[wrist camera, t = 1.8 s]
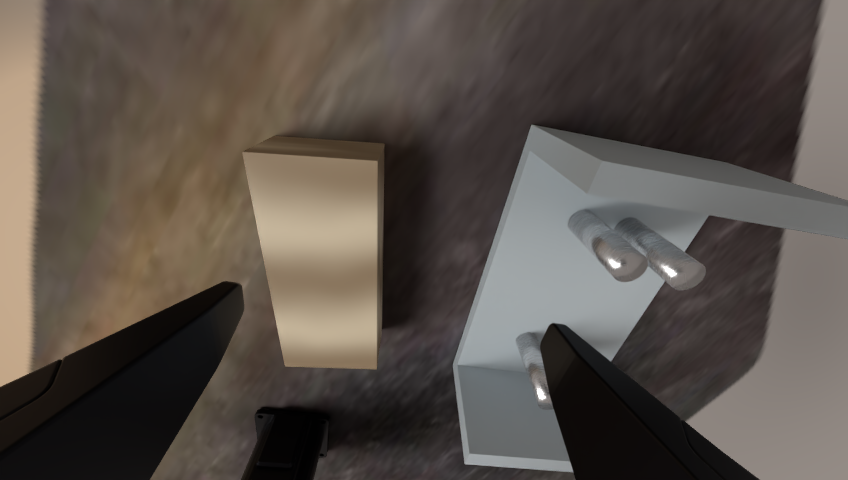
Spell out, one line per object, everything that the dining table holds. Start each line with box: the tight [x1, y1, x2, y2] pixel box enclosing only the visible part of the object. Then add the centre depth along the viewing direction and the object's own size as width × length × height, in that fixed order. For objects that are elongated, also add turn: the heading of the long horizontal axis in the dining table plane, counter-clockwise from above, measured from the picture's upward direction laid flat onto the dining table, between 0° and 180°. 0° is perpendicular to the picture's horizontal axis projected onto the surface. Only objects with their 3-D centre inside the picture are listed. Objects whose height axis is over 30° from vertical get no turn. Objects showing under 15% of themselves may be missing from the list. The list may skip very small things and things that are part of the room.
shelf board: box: [242, 136, 385, 369], centre depth 19 cm, size 14×6×4 cm, turn 176°
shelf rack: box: [453, 125, 848, 472], centre depth 19 cm, size 19×12×8 cm, turn 170°
